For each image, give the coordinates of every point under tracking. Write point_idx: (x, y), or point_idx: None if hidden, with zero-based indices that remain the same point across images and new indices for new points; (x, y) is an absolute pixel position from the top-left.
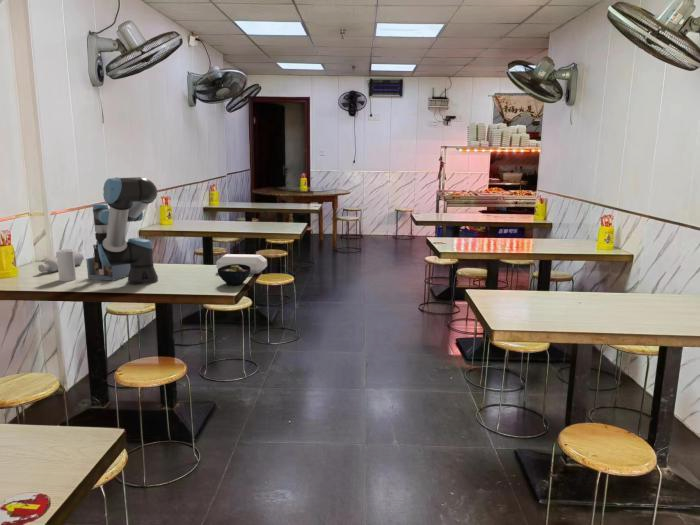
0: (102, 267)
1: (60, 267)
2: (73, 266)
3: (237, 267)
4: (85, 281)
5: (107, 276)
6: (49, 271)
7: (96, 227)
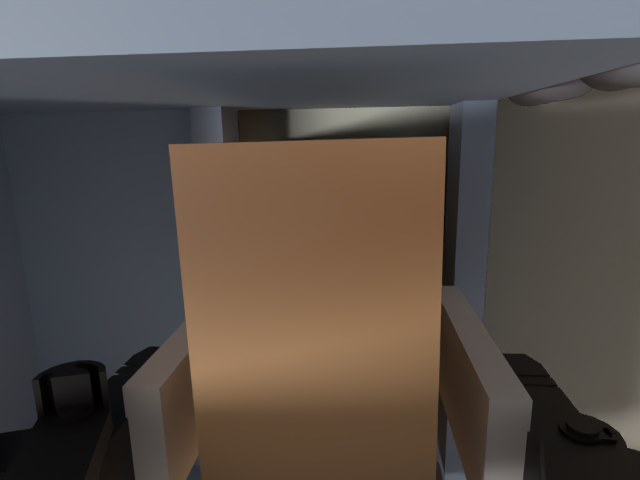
0: (493, 354)
1: None
2: None
3: None
4: (627, 415)
5: (491, 180)
6: None
7: None
